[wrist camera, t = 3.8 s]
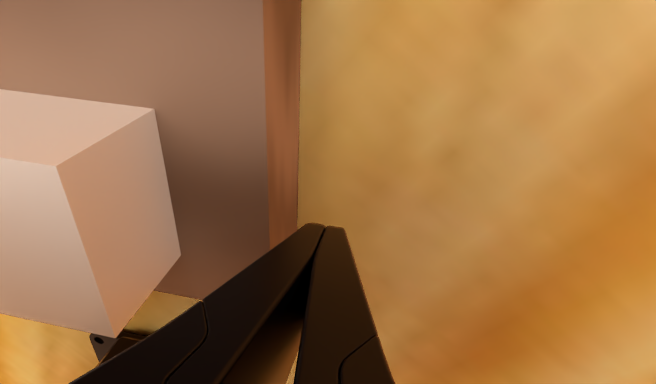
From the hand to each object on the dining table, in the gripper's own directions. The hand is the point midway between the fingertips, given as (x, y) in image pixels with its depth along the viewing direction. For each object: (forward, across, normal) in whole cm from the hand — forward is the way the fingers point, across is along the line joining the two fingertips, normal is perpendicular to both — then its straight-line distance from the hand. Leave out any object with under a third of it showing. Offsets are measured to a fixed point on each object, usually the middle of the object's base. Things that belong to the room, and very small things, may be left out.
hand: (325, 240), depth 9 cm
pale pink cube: (+1, +7, 0) cm, 7 cm away
